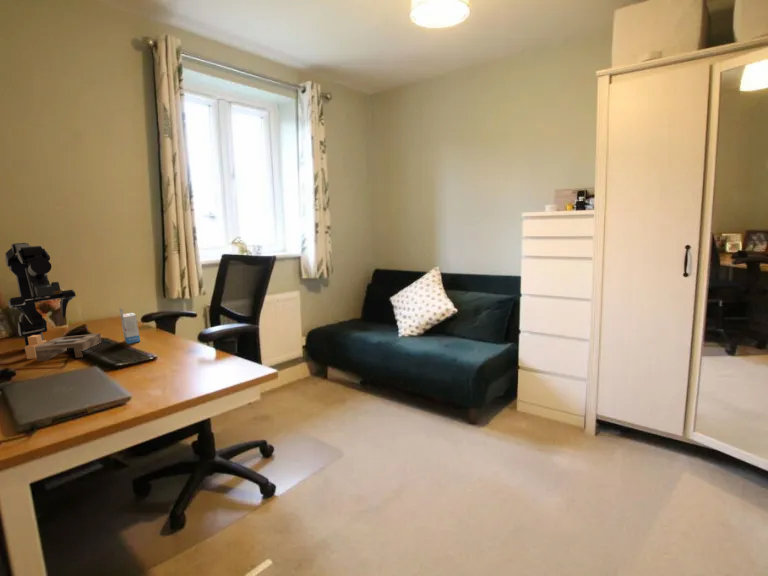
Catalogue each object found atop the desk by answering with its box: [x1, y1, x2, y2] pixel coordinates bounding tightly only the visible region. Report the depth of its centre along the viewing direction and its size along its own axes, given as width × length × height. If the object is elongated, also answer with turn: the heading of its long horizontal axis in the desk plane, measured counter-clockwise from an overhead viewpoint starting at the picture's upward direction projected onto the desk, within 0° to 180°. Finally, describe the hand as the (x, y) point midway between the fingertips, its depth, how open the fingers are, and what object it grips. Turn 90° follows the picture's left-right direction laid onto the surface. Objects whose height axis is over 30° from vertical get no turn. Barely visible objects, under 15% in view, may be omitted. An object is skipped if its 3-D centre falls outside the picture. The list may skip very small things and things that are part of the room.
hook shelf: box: [35, 333, 103, 362], centre depth 164 cm, size 14×16×6 cm
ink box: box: [119, 307, 141, 345], centre depth 177 cm, size 8×5×15 cm, turn 39°
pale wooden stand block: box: [24, 335, 48, 360], centre depth 164 cm, size 8×3×8 cm, turn 9°
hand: (48, 321), depth 152 cm, fingers open, 9 cm apart
